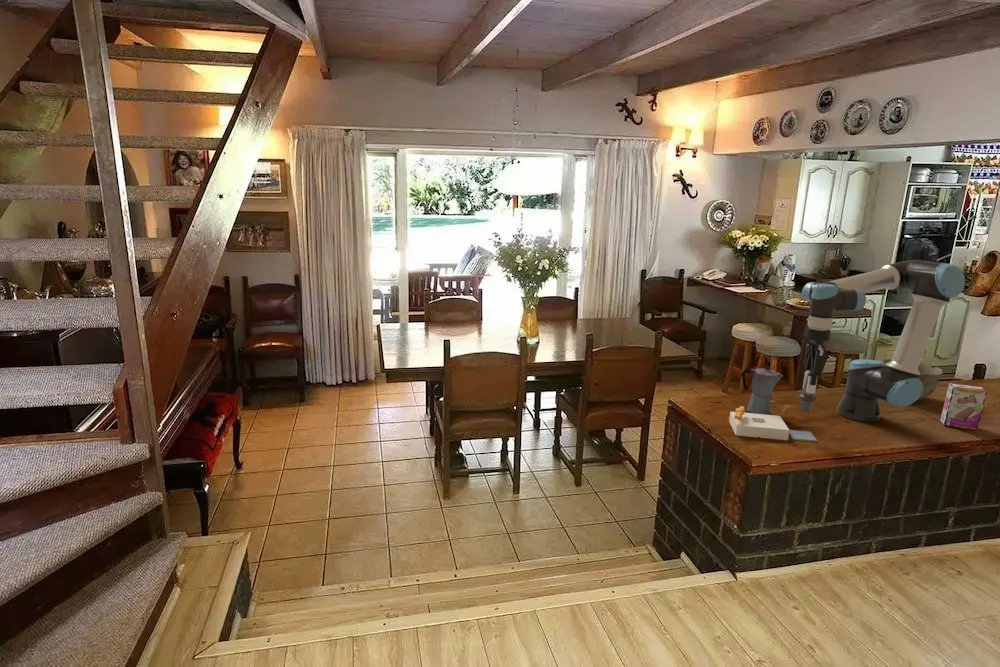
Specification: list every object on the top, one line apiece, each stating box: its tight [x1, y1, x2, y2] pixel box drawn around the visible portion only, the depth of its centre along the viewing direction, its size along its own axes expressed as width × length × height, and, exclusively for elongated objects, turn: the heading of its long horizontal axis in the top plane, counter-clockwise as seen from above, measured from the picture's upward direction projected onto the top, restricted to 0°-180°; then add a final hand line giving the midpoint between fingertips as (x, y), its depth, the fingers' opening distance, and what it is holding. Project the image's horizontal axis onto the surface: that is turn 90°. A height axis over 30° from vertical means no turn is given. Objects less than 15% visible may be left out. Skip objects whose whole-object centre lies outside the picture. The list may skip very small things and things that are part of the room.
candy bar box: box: [939, 382, 988, 430], centre depth 229 cm, size 11×5×16 cm, turn 71°
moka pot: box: [741, 365, 784, 415], centre depth 238 cm, size 10×15×20 cm, turn 78°
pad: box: [789, 429, 818, 443], centre depth 218 cm, size 8×8×1 cm
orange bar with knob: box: [734, 405, 746, 420], centre depth 221 cm, size 12×3×1 cm, turn 149°
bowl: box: [882, 358, 944, 401], centre depth 260 cm, size 22×22×15 cm
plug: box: [798, 370, 817, 413], centre depth 214 cm, size 6×6×15 cm
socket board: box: [728, 411, 791, 441], centre depth 222 cm, size 18×14×6 cm
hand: (808, 390), depth 214 cm, fingers closed on plug, 3 cm apart
